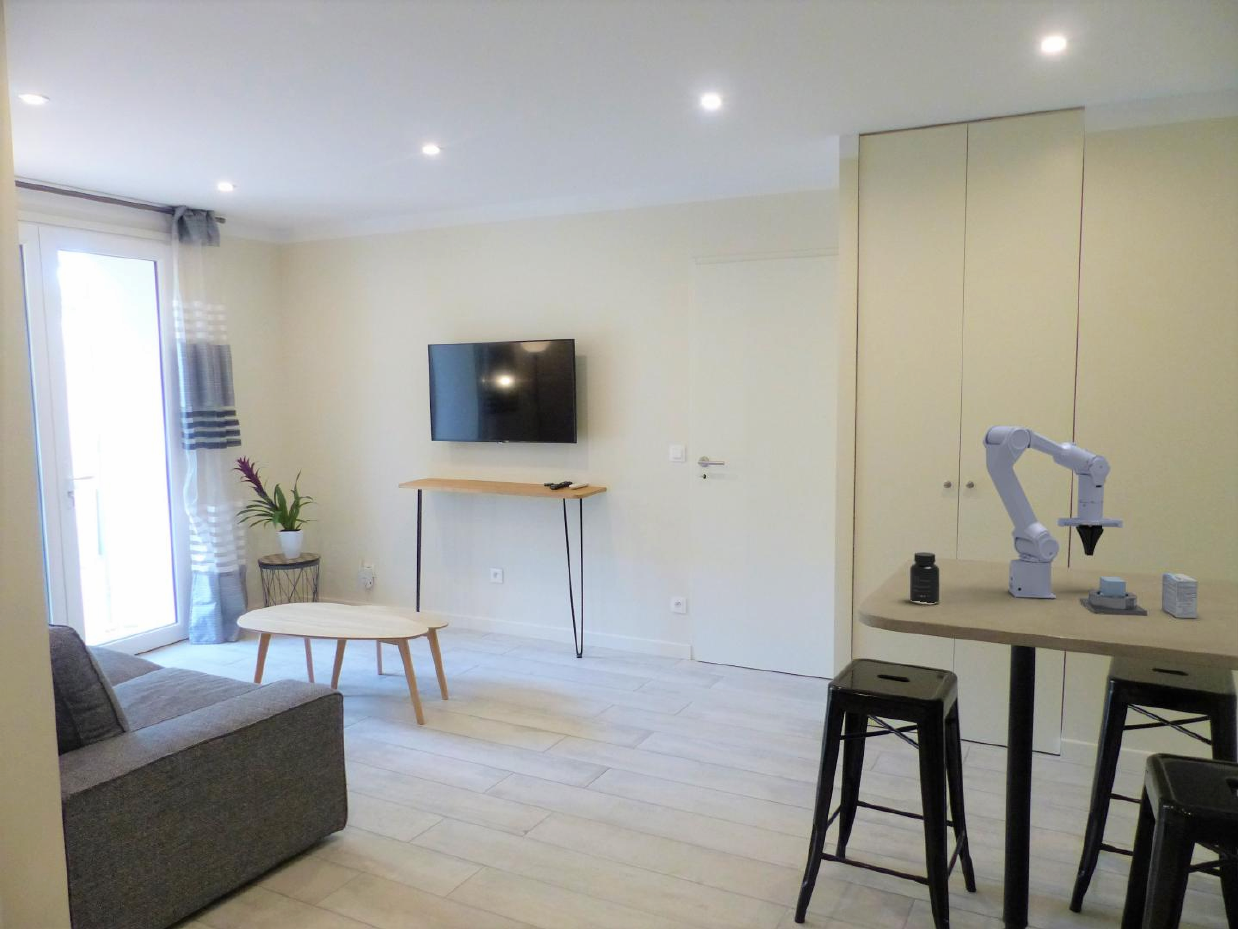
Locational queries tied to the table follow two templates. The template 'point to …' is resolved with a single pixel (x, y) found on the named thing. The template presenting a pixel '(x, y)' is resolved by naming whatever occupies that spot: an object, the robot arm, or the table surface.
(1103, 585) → the pale blue block
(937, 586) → the supplement bottle
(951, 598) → the table surface
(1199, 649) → the table surface
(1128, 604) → the square plate with ring
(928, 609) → the table surface
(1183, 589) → the medicine box
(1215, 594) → the table surface
